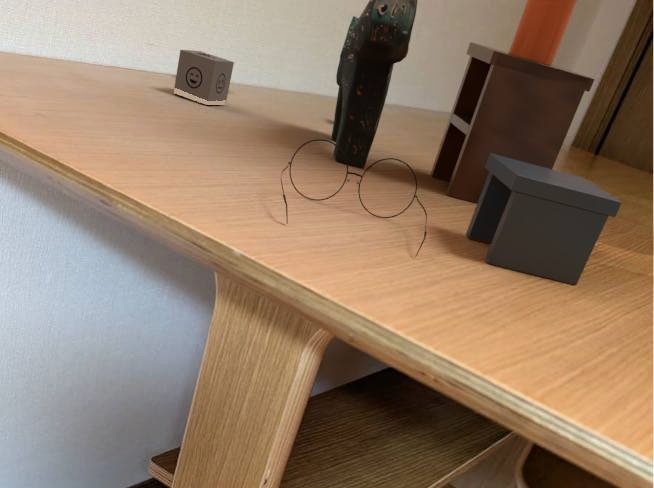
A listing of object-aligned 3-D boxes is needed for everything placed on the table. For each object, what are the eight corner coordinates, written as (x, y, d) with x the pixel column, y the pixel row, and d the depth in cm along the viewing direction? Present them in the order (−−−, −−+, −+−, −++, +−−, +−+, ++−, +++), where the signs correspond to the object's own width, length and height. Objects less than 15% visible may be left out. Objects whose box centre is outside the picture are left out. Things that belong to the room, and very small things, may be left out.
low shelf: (550, 256, 76) (584, 178, 72) (582, 287, 69) (622, 202, 65) (459, 233, 75) (489, 152, 71) (482, 262, 68) (517, 174, 64)
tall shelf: (510, 195, 100) (561, 67, 92) (536, 218, 91) (594, 79, 83) (426, 173, 99) (470, 41, 91) (443, 194, 90) (494, 50, 82)
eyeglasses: (428, 261, 64) (452, 195, 61) (272, 221, 63) (289, 152, 60) (412, 226, 73) (432, 167, 70) (275, 190, 72) (290, 129, 69)
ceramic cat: (374, 174, 90) (439, -43, 79) (317, 159, 89) (375, -62, 78) (363, 144, 106) (416, -40, 95) (315, 131, 106) (363, -55, 95)
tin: (544, 63, 89) (568, -1, 86) (557, 67, 86) (583, 1, 82) (503, 51, 89) (526, -14, 85) (514, 55, 85) (539, -13, 82)
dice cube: (192, 94, 107) (200, 51, 104) (225, 105, 106) (234, 62, 103) (173, 94, 103) (180, 49, 100) (207, 105, 102) (215, 60, 99)
